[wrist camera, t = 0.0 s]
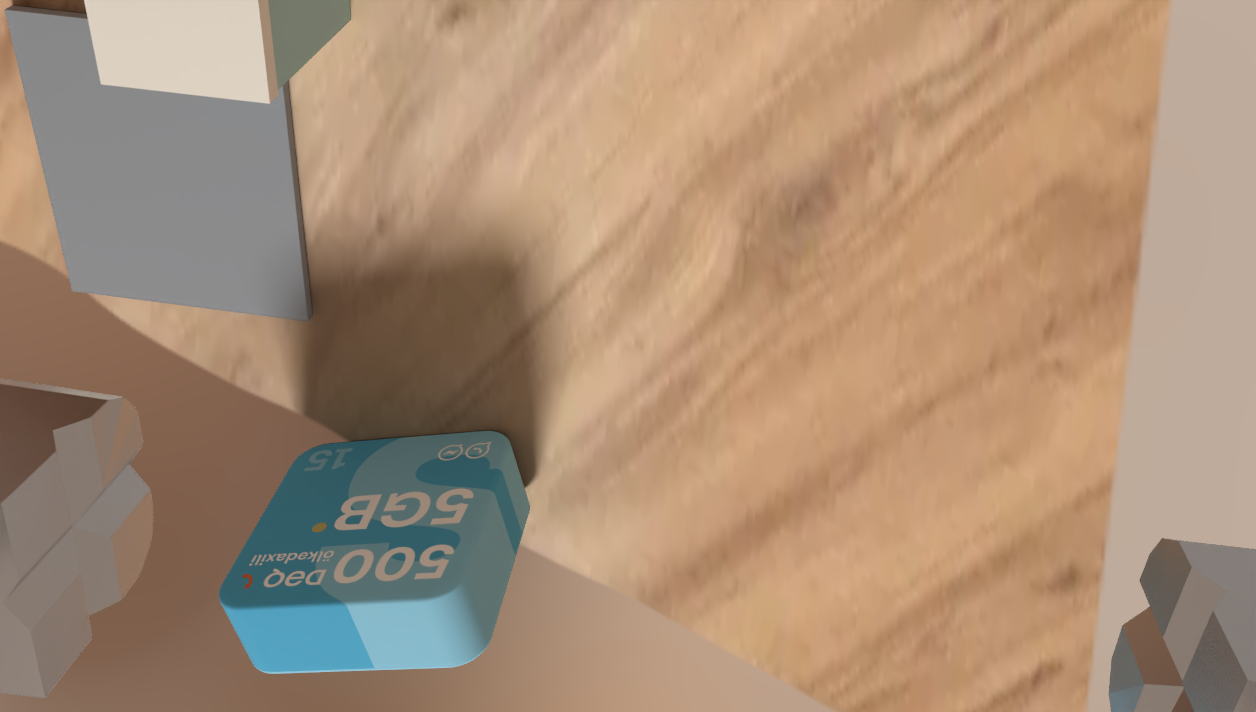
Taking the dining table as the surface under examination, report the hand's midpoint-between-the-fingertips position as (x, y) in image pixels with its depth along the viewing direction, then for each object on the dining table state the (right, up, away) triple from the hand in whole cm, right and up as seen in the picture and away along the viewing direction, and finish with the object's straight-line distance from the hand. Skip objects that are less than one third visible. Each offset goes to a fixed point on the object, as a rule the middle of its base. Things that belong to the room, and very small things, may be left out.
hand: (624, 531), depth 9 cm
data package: (-11, -4, +52) cm, 54 cm away
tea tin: (-14, +17, +38) cm, 44 cm away
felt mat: (-21, +10, +44) cm, 50 cm away
